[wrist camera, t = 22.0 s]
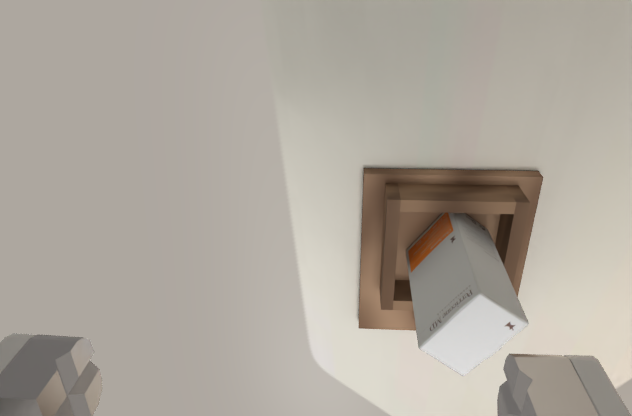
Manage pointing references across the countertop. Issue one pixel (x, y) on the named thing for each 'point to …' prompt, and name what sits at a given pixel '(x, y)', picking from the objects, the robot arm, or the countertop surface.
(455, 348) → the skincare box
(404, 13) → the countertop surface
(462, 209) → the organiser tray
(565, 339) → the countertop surface
